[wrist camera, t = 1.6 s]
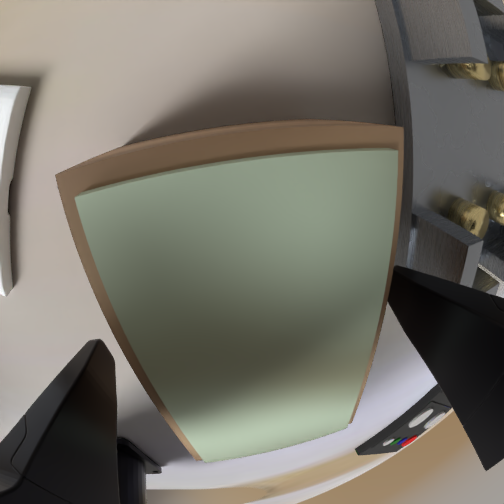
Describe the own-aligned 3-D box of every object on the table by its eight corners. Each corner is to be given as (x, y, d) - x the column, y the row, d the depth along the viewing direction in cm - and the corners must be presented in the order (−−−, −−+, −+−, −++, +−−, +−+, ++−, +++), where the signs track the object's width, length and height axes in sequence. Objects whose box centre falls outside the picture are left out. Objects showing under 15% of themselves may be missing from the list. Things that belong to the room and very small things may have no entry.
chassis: (495, 242, 14) (535, 269, 10) (389, 285, 13) (440, 336, 9) (494, 32, 7) (545, 34, 4) (368, -22, 6) (434, -53, 2)
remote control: (353, 445, 24) (359, 459, 22) (540, 234, 17) (553, 242, 15) (392, 444, 28) (397, 454, 27) (540, 280, 21) (549, 287, 20)
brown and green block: (309, 341, 13) (354, 428, 9) (187, 367, 12) (197, 467, 8) (305, 118, 9) (413, 128, 4) (123, 145, 8) (47, 179, 3)
